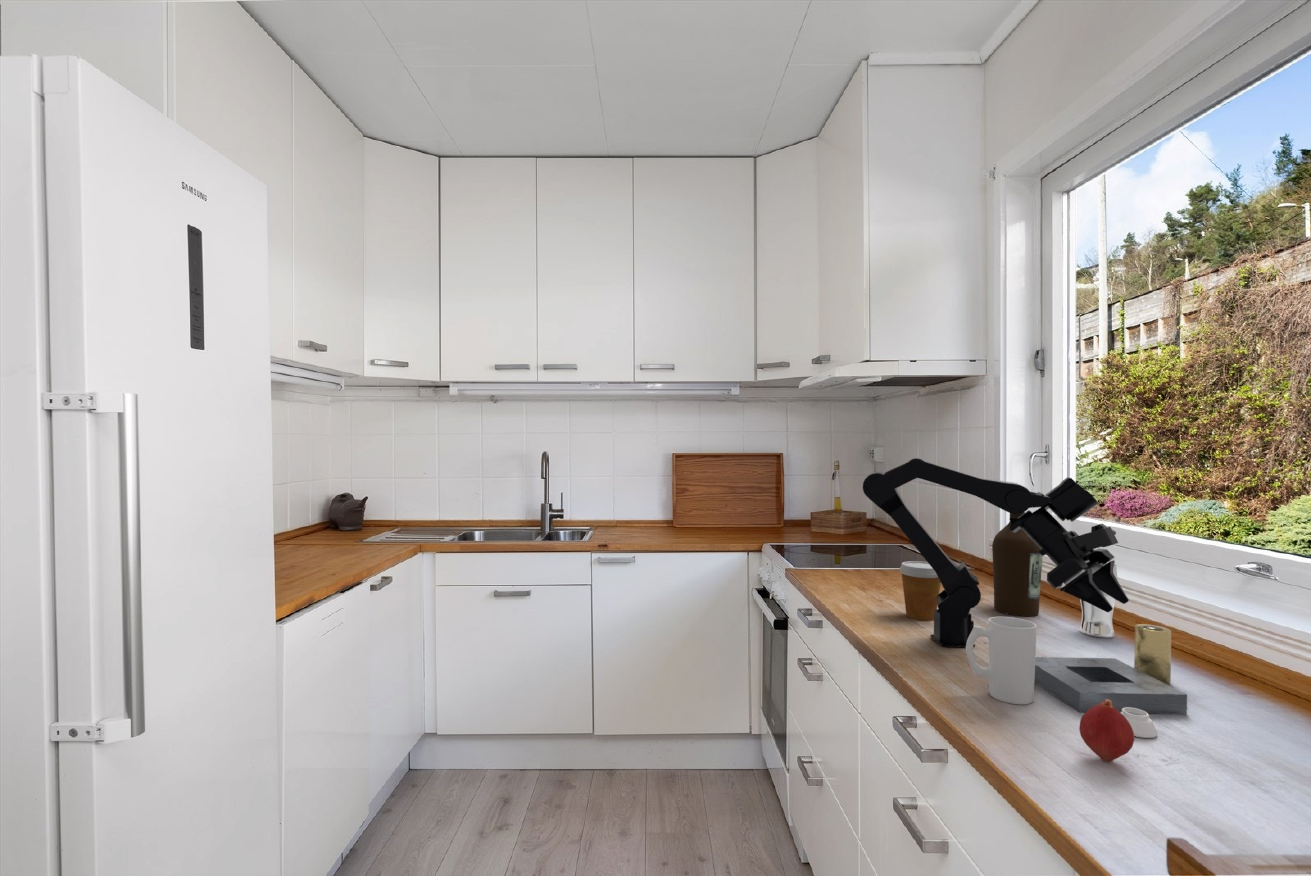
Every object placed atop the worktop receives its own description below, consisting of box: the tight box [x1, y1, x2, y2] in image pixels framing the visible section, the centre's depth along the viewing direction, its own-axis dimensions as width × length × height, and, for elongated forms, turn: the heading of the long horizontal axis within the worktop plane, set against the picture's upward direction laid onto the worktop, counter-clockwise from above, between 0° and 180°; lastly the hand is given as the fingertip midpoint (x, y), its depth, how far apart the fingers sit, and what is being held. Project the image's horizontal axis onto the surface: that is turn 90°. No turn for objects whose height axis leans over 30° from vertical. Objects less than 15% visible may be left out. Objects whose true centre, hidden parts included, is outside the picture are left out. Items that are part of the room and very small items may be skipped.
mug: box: [965, 616, 1038, 706], centre depth 106 cm, size 10×7×12 cm, turn 71°
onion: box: [1078, 700, 1135, 763], centre depth 85 cm, size 6×6×8 cm
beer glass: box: [1079, 563, 1118, 639], centre depth 140 cm, size 7×7×15 cm
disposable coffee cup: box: [899, 560, 942, 621], centre depth 152 cm, size 10×10×12 cm
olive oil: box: [991, 511, 1044, 617], centre depth 157 cm, size 11×11×25 cm
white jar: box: [1120, 707, 1158, 739], centre depth 93 cm, size 5×3×5 cm
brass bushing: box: [1133, 623, 1172, 686], centre depth 113 cm, size 5×5×9 cm
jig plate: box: [1034, 656, 1188, 715], centre depth 107 cm, size 16×16×3 cm
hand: (1118, 606), depth 117 cm, fingers open, 9 cm apart
